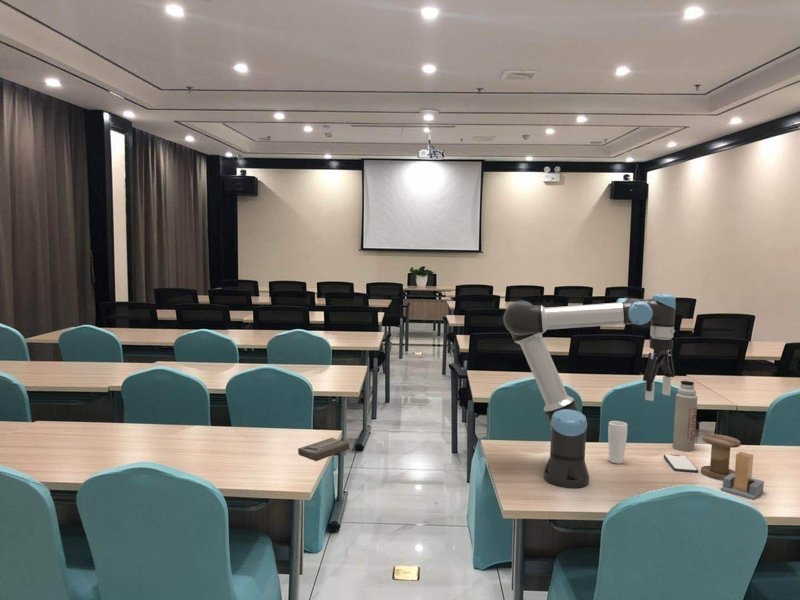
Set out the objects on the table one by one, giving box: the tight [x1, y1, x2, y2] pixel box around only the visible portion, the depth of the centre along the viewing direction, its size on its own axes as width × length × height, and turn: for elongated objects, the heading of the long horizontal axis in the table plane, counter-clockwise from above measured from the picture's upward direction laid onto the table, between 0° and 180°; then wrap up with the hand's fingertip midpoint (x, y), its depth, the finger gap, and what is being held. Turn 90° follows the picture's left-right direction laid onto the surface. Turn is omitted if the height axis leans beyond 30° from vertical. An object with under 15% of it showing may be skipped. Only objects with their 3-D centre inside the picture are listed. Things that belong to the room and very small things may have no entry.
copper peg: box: [734, 451, 754, 492], centre depth 203 cm, size 4×4×12 cm
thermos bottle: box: [672, 380, 698, 453], centre depth 247 cm, size 8×8×28 cm
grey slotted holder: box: [720, 473, 765, 500], centre depth 203 cm, size 10×10×4 cm
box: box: [297, 437, 351, 462], centre depth 230 cm, size 11×17×3 cm, turn 138°
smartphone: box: [663, 453, 699, 474], centre depth 228 cm, size 9×2×16 cm
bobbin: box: [700, 433, 741, 481], centre depth 218 cm, size 12×12×13 cm
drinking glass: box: [607, 420, 628, 465], centre depth 229 cm, size 7×7×15 cm
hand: (657, 397), depth 213 cm, fingers open, 13 cm apart
